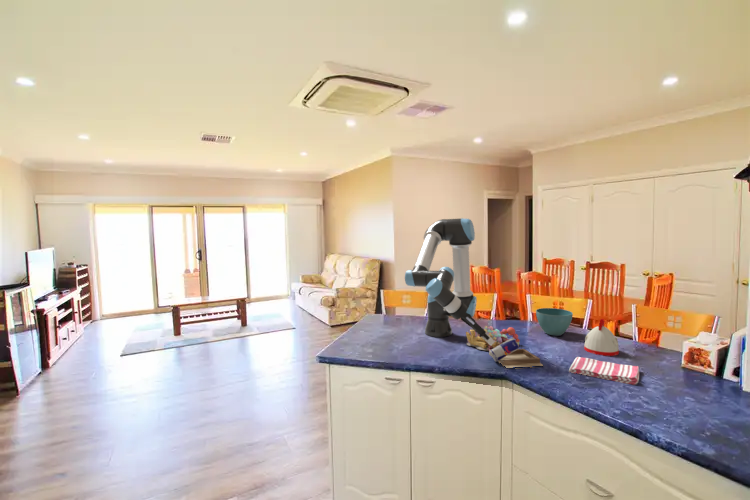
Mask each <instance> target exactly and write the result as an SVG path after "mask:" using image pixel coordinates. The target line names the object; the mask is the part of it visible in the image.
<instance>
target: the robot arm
mask: <svg viewBox="0 0 750 500" xmlns="http://www.w3.org/2000/svg"><path fill="white" fill-rule="evenodd" d="M475 234H476V233H475V226H474V224H473V221H472V219H470V218H463V217H461V218H443V219H442V218H441V219H438V220H437V221H434V222H433V223H432V224H431V225H429V227H428V228H426V230H425V232H424V234H423V243H422V245H421V248H420V250H419V252H418V256H417V258H416V260H415V263H414V266H413V267H412V269H407V270H406V271H405V273H404V281H405V284H406V286H409V287H421V288H422V287H423V288H424V287H425V292H426V293H427V294H428V296H427V302H426V303H427V321H426V324H425V327H424V334H425V335H426V336H429V337H434V338H435V337H437V338H442V337H449V336H451V335H452V334H453V328H452V325H451V323H450V318H449V317H452V318H453V319H455V320H461V321H462V322H463V323H465V324H466V325H467V326H469V327H470V328H471V329H474V330H475V332H477V333H478V334H480V335H479V337H482V338H483V339H484V340H485V341H486V342H487V343H488V344H489V345H492V344H493V343H494V342H495V341H494V340H493V339H492V338H491V337H490V336H489V335H488V334H487V333H486V331H484V329H483V328H484V327H482V326H480V325H479V323H478V322H477V321H476V320H475V319H474V318H473V317H474V315H475V312H476V307H477V302H478V301H477V296H475V295H474V292H473V291H472V290H471V279H470V278H471V277H470V275H471V274H470V272H471V270H470V251H469V250H470V246H471V245H472V243H473V242H472V241H475V239H476V236H475ZM442 242H449V243H448V245H449V246H450V247H451V249H452V268H451V267H449V266H442V267H440V268H439V270H430V268H431V266H432V263H433V260H434V257H435V255H436V251H437V250H438V246H439V245H440V244H441V243H442ZM452 285H453V291H452V290H451V287H452Z"/></svg>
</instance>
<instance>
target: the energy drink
mask: <svg viewBox="0 0 750 500" xmlns="http://www.w3.org/2000/svg"><path fill="white" fill-rule="evenodd" d="M508 339H509V340H507V341H505V342H504V343H502V344H500V345H498V346H497V347H495V348H493V349H492V350H490V351H488V354H489V353H490V354H491V356H490V357H491V358H492V359H493V360H494V362H498V361H499V360H500V359H502V358H504V357H506V356H507V355H509V354H511V353H512V352H514V351H516V350H518V349H520V346H519V345H520V344H519V345H518V344H517V343H518V342H516V339H514V338H513V337H511V338H508Z"/></svg>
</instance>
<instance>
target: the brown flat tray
mask: <svg viewBox="0 0 750 500" xmlns="http://www.w3.org/2000/svg"><path fill="white" fill-rule="evenodd" d="M488 354H489V356H490V357H492V356H491V354H490V353H489V352H488ZM497 362H498V363H499V364H500V363H501V364H502V365H501V364H500V365H501V366H503V367H504V366H505V367H506V368H513V367H530V368H533V367H532V366H543V367H544V365H543V363H541V358H540V357H538V356H537V355H535V354H533V353H532V352H530V351H528V350H527V349H525V348H519V349H518V350H516V351H514V352H512V353H511V354H509V355H507V356H506V357H504V358H502V359H500V360H499V361H497ZM505 367H504V368H505ZM506 368H505V369H506Z"/></svg>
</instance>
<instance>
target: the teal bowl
mask: <svg viewBox="0 0 750 500" xmlns="http://www.w3.org/2000/svg"><path fill="white" fill-rule="evenodd" d="M535 315H536V320H537V322H538V325H539V326H540V328H541V330H542V331H543V332H544V333H545V334H547V335H549V336H556V337H557V336H561V335H563V334H564V333H566V331H567V330H568V329H569V328H570V325H571V323H572V320H573V316H574V315H573V312H572V311H570V310H567V309H563V308H555V307H554V308H553V307H543V308H542V307H541V308H537V309H536V310H535Z"/></svg>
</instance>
